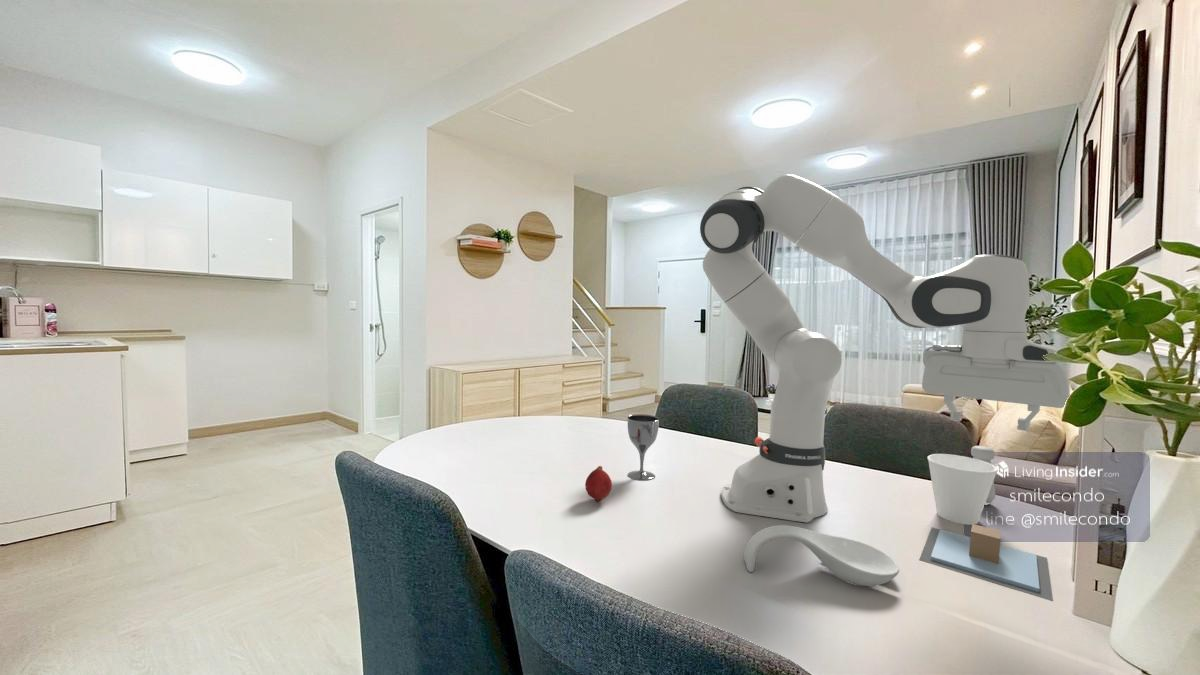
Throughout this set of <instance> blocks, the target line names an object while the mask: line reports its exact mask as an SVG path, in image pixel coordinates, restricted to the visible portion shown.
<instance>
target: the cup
mask: <svg viewBox="0 0 1200 675" xmlns="http://www.w3.org/2000/svg"><path fill="white" fill-rule="evenodd" d="M927 461H928V467H929V473H930V479H931V485H932V492H933V498H934V503H935V509H936V514H937V515H938V516H939V517H941V518H942V519H945V520H947V521H949V522H952V523H956V524H959V525H968V526H970V525H971V526H972V524H975V525H978V523H979V521H980V519H981V515H982V512H983V511H984V507H985V506H984V505H985V502H986V500H987V497H988V494H989V492H990V489H991V486H992V483H993V481H995V479H996V478H995V477H996V475H997V472H998V471H999V470H998V467H997V466H995V465H994V464H992V463H991V464H990V463H987V462H984V461H981V460H978V459H974V458H973V457H969V456H964V455H957V454H951V453H950V454H949V453H948V454H947V453H932V454H930V455H928V456H927Z"/></svg>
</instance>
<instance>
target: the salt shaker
mask: <svg viewBox="0 0 1200 675" xmlns="http://www.w3.org/2000/svg"><path fill="white" fill-rule="evenodd" d="M970 454H971V456H972V458H974V459H978V460H981V461H984V462H987V463H990V464H992V460H994V459H995V457H996V456H995V450H993V448H991V447H989V446H988V447H987V446H984V445H973V446H972V447H971V449H970ZM994 481H995V480H994ZM994 481H993V483H992V486H991V489H990V492H989V494H988V497H987V500H986V502H987V503H990V504H991V503H993V501H994V500H995V499H996V490H995V488H996V487H995V483H994Z"/></svg>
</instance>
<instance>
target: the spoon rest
mask: <svg viewBox="0 0 1200 675" xmlns="http://www.w3.org/2000/svg"><path fill="white" fill-rule="evenodd" d="M778 539H791V540H795V541H797V542H800V543H801V544H802V545H804V546H805V547H806V548H808V549H809V551H811V552H812V553H813V554H814V555H815V556H816V557H817V559H819V561H820V562H821V563H822V564H823V565H824V566H825V567H826V568H827V570H828V571H830V572H831V573H832V574H833V575H834V576H835V577H836V576H837V577H838V579H839V578H840V579H839V580H841V579H842V580H843V582H845V581H846V582H845V583H847V582H849V583H848V584H850V583H852V584H851V585H853V584H856V585H855V586H858V585H863V586H862V587H871V586H872V587H874V586H881V585H883V584H886V583H888V582H890V581H892V580H893V579H894V578H896V577H897V576H898V575H899V573H900V567H899V565H898V563H897V562H896V560H895V559H893V558H892V557H891V556H890V555H888V554H887V553H885V552H884V551H882V550H881V549H879V548H876V547H875V546H872V545H869V544H867V543H864V542H861V541H859V540H854V539H850V538H847V537H842V536H836V535H833V534H827V533H826V534H825V533H822V532H818V531H814V530H810V529H808V528H803V527H800V526H795V525H788V524H787V525H786V524H777V525H772V526H767V527H765V528H762V529H760V530H758V531H757V532H756V533H754V534H753V535H752V536H751V537H750V539H749V540H748V542H747V543H746V546H745V549H744V552H743V559H744V562H745V566H746V569H747V571H748V572H749V573H752V572H754V571H755V568H756V567H755V566H756V560H757V557H758V554H759V551H760V550H761V549H762V547H763V546H765V545H766V544H767V543H769V542H772V541H774V540H778ZM837 577H836V578H837ZM842 580H841V581H842Z"/></svg>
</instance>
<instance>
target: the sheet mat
mask: <svg viewBox="0 0 1200 675" xmlns="http://www.w3.org/2000/svg"><path fill="white" fill-rule="evenodd" d="M939 531H940V528H936V527H931V528H930V530H929V533H928V535H927V539H926V541H925V543H924V546H923V549H922V550H921V555H920V557H919V558H918V560H919V561H921V562H924V563H927V564H931V565H934V566H937V567H941V568H944V569H947V570H950V571H953V572H957V573H960V574H964V575H966V576H970V577H973V578H976V579H980V580H982V581H986V582H990V583H992V584H996V585H999V586H1002V587H1005V588H1008V589H1013V590H1016V591H1018V592H1023V593H1025V594H1029V595H1032V596H1035V597H1039V598H1042V599H1044V600H1049V601H1052V602H1053V601H1054V598H1053V590H1052V583H1051V578H1050V568H1049V563H1048V557H1045V556H1042V555H1038V554H1036V557H1037V567H1038V578H1039V588H1040V589H1039V592H1036V591H1033V590H1029V589H1026V588H1023V587H1019V586H1016V585H1013V584H1010V583H1006V582H1003V581H1000V580H996V579H993V578H990V577H986V576H983V575H980V574H976V573H973V572H970V571H967V570H963V569H960V568H957V567H953V566H950V565H947V564H943V563H940V562H937V561H933V560H931V555H932V552H933V549H934V546H935V543H936V540H937V537H938V534H939Z"/></svg>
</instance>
